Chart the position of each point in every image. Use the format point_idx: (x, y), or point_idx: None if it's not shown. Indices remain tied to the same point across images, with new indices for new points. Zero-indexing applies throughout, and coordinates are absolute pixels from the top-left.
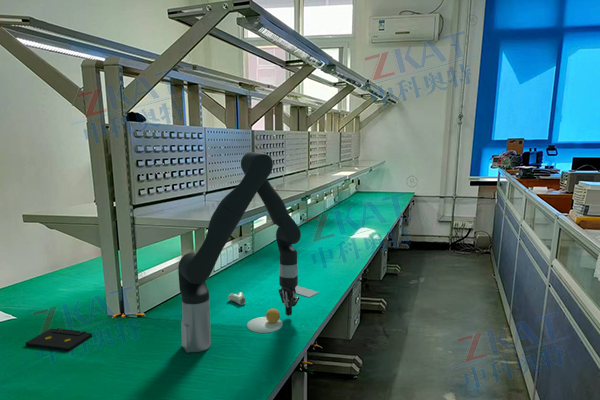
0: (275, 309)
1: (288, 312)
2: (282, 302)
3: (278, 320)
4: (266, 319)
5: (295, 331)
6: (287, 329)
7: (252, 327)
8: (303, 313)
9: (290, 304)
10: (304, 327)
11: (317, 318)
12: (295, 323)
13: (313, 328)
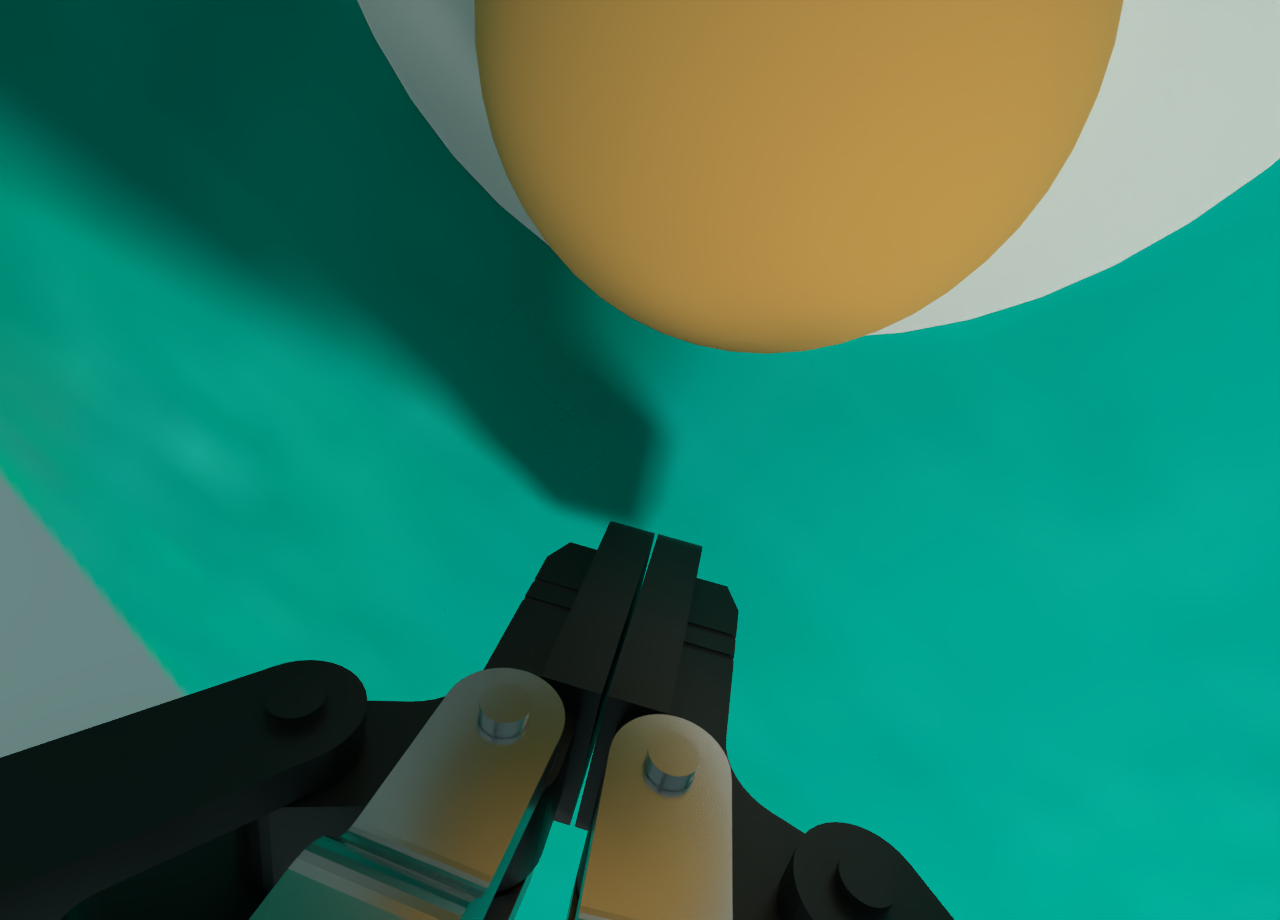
0: (667, 153)
1: (561, 582)
2: (887, 848)
3: None
4: None
5: (54, 155)
6: (215, 84)
7: None
8: None
9: (145, 761)
10: (140, 423)
11: None
12: (372, 441)
13: (44, 493)
